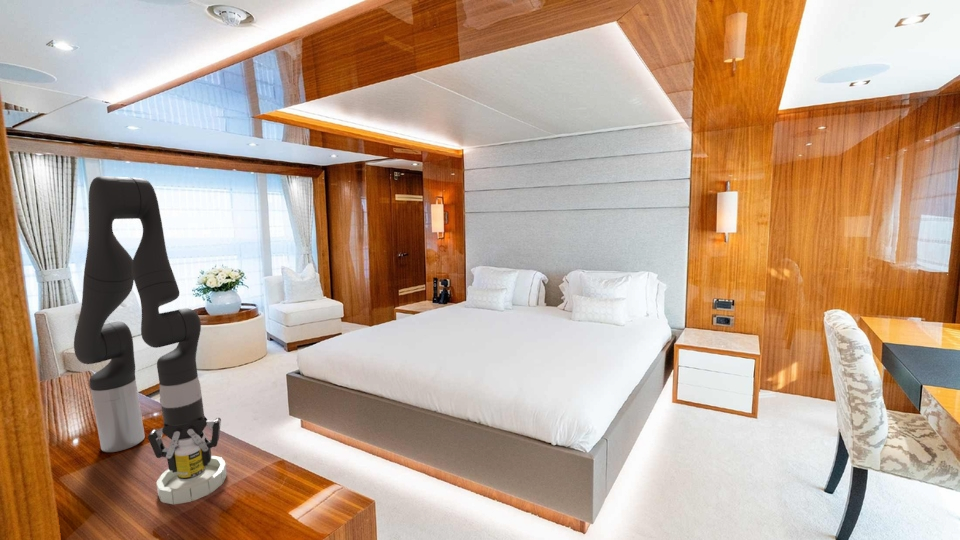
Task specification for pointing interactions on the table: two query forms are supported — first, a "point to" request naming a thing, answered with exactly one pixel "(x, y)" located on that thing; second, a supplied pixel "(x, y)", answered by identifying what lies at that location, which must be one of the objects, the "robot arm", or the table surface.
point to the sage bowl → (191, 483)
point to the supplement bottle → (189, 460)
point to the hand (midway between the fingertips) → (191, 466)
